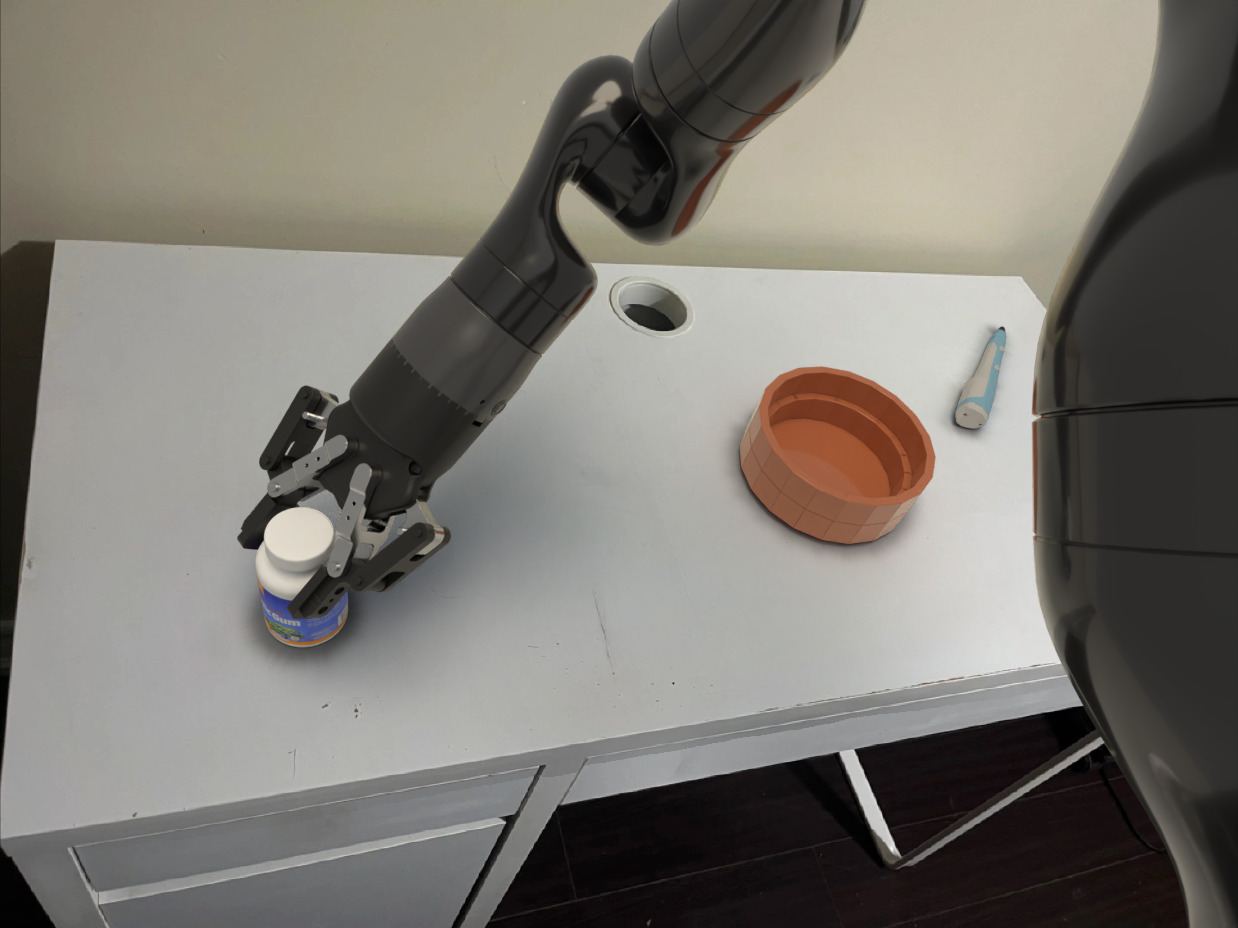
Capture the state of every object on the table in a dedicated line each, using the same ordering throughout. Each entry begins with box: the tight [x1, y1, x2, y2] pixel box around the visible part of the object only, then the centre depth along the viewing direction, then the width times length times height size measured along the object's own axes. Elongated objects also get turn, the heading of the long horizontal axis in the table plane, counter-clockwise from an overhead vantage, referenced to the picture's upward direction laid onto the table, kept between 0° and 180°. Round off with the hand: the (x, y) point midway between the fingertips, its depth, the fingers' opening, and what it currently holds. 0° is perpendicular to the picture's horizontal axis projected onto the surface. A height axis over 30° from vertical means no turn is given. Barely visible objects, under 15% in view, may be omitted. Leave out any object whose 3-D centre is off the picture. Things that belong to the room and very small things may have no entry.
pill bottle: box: [254, 506, 349, 648], centre depth 55 cm, size 5×5×10 cm
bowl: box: [739, 365, 936, 545], centre depth 75 cm, size 16×16×6 cm
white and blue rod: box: [955, 325, 1007, 430], centre depth 91 cm, size 19×3×3 cm, turn 152°
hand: (275, 579), depth 53 cm, fingers closed on pill bottle, 5 cm apart
